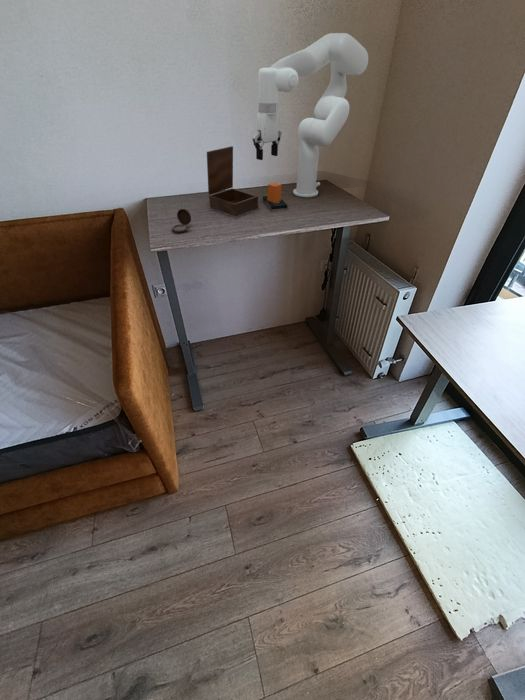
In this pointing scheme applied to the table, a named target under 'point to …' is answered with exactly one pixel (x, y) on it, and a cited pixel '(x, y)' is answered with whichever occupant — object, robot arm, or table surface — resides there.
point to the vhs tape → (275, 204)
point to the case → (233, 202)
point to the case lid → (220, 169)
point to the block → (274, 192)
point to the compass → (182, 221)
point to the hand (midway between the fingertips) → (267, 157)
